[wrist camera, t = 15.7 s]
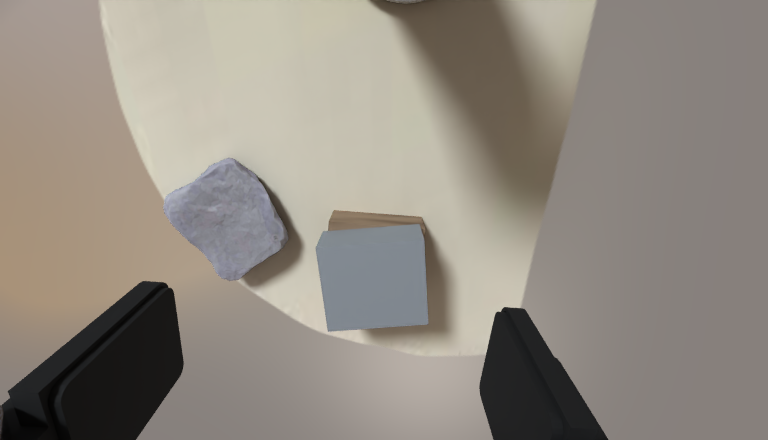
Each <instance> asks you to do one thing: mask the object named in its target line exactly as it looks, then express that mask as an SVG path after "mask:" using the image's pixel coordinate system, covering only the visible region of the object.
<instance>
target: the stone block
mask: <svg viewBox="0 0 768 440" xmlns="http://www.w3.org/2000/svg"><path fill="white" fill-rule="evenodd" d="M164 213H165V215H166V216H167V218H168V219H169V220H170V223H171V224H172V225H173V226H174V227H175V228H176V229H177V230H178V231H179V232H180V233H181V234H182V236H184V237H185V238H186V239H187V240H188V241H189V242H190V243H192V244H193V245H194V246H196V247H197V248H198V249H199V250H200V251H201V252H202V253H204V254H205V256H206V258H207V259H208V260H209V261H210V262H211V263H212V265H213V267H214V269H215V271H216V273H217V274H218V275H219V276H220V277H221V278H223V279H227V280H229V281H231V280H239V279H240V278H241V277H242V276H243V275H245V274H246V273H248V272H249V271H250V270H251V269H252V268H253V267H254V266H256V265H258V264H259V263H261V262H263V261H264V260H265V259H267V258H268V257H270V256H272V255H274V254H275V253H277V252H278V251H280V250H281V249H282V248H283V247H284V245H285V243H286V242H287V241H288V234H287V230H286V228H285V226H284V224H283V223H282V220H281V219H280V217H279V216H278V214H277V212H276V209H275V207H274V206H273V204H272V203H271V200H270V197H269V195H268V194H267V192H266V190H265V188H264V186H263V185H262V184H261V183H260V182H259V180H258V178H257V176H256V174H254V173H253V172H252V171H250V170H248V169H247V168H245V167H244V166H243V165H241V164H240V163H239V162H237V161H236V160H235V159H233V158H227V159H224V160H222V161H220V162H218V163H214V164H213V165H211V166H209V167H208V169H207V170H206V171H205V172H204V173H203V174H201V176H199V177H198V178H197V179H196V180H195V181H194V182H192V183H190V184H188V185H186V186H184V187H181V188H179V189H176V190H174V191H173V192H172V193H170V194H168V195H167V196H166V197H165V203H164Z"/></svg>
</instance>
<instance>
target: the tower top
mask: <svg viewBox="0 0 768 440" xmlns="http://www.w3.org/2000/svg"><path fill="white" fill-rule="evenodd" d="M316 254H317V261H318V267H319V274H320V281H321V288H322V294H323V301H324V308H325V315H326V321H327V328H328V332H329V331H343V330H357V329H371V328H385V327H399V326H413V325H426V324H428V307H427V286H426V266H425V245H424V237H423V234H422V231H421V227H420V224H413V225H400V226H387V227H374V228H361V229H348V230H335V231H323V233H322V235H321V237H320V239H319V242H318V244H317V246H316Z"/></svg>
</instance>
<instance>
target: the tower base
mask: <svg viewBox="0 0 768 440" xmlns="http://www.w3.org/2000/svg"><path fill="white" fill-rule="evenodd" d="M413 224H420V227H421V231H422V234H423V237H425V226H424V223H423V220H422V217H416V216H402V215H389V214H376V213H363V212H350V211H337V210H334V211H333V213H332V216H331V218H330V220H329V228H328V231H335V230H348V229H361V228H374V227H387V226H400V225H413Z"/></svg>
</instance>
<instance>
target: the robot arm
mask: <svg viewBox="0 0 768 440" xmlns="http://www.w3.org/2000/svg"><path fill="white" fill-rule="evenodd" d="M387 1H390V2H395V3H401V4H406V3H417V2H421V1H425V0H387ZM182 370H183V355H182V348H181V340H180V333H179V326H178V319H177V312H176V304H175V298H174V292H173V290H172V289H171V288H168V285H167V284H166V283H163V282H150V281H143V282H141V283H139V284H138V285H137V286H135V287H134V288H133V289H132V290H131V291H129V292H128V293H127V294H126V295H125V296H123V297H122V298H121V299H120V300H119V301H117V302H116V303H115V304H114V305H113V306H111V307H110V308H109V309H107V310H106V311H105V312H104V313H103V314H101V315H100V316H99V317H98V318H97V319H95V320H94V321H93V322H92V323H90V324H89V325H88V326H87V327H86V328H85V329H83V330H82V331H81V332H80V333H78V334H77V335H76V336H75V337H73V338H72V339H71V340H70V341H69V342H67V343H66V344H65V345H64V346H62V347H61V348H60V349H59V350H58V351H56V352H55V353H54V354H53V355H52V356H50V357H49V358H48V359H47V360H45V361H44V362H43V363H42V364H41V365H39V366H38V367H37V368H36V369H34V370H33V371H32V372H31V373H30V374H28V375H27V376H26V377H25V378H24V379H22V380H21V381H20V382H19V383H17V384H16V385H15V386H14V387H13V388H11V389H10V390H9V391H8V393H9V395H10V399H8V400H7V401H6V402H5V403H4V404H2V405H0V440H136V439H137V437H138V436H139V434H140V433H141V431H142V430H143V429H144V427H145V426H146V424H147V423H148V421H149V420H150V419H151V417H152V416H153V414H154V413H155V411H156V410H157V409H158V407H159V406H160V404H161V403H162V401H163V400H164V398H165V397H166V396H167V394H168V393H169V391H170V389H171V388H172V387H173V386H174V384H175V383H176V381H177V380H178V378H179V377H180V375H181V373H182ZM480 396H481V399H482V403H483V406H484V409H485V412H486V416H487V419H488V423H489V426H490V429H491V433H492V436H493V439H494V440H608V438H607V437H606V435H605V433H604V432H603V430H602V429H601V427H600V425H599V424H598V422H597V421H596V419H595V417H594V416H593V414H592V413H591V411H590V409H589V408H588V406H587V404H586V403H585V401H584V400H583V398H582V396H581V395H580V393H579V392H578V390H577V388H576V387H575V385H574V384H573V382H572V380H571V379H570V377H569V376H568V374H567V372H566V371H565V369H564V368H563V366H562V364H561V363H560V362H559V361H558V359H557V358H555V357H554V356H553V355H552V353H551V351H550V349H549V348H548V346H547V345H546V343H545V341H544V340H543V338H542V336H541V335H540V333H539V331H538V330H537V328H536V326H535V325H534V323H533V322H532V320H531V318H530V317H529V315H528V313H527V312H526V310H525V309H522V308H508V307H504V308H503V309H502V311H501V312H496V314H495V318H494V322H493V326H492V331H491V335H490V340H489V344H488V349H487V353H486V358H485V362H484V367H483V371H482V376H481V380H480Z"/></svg>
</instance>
